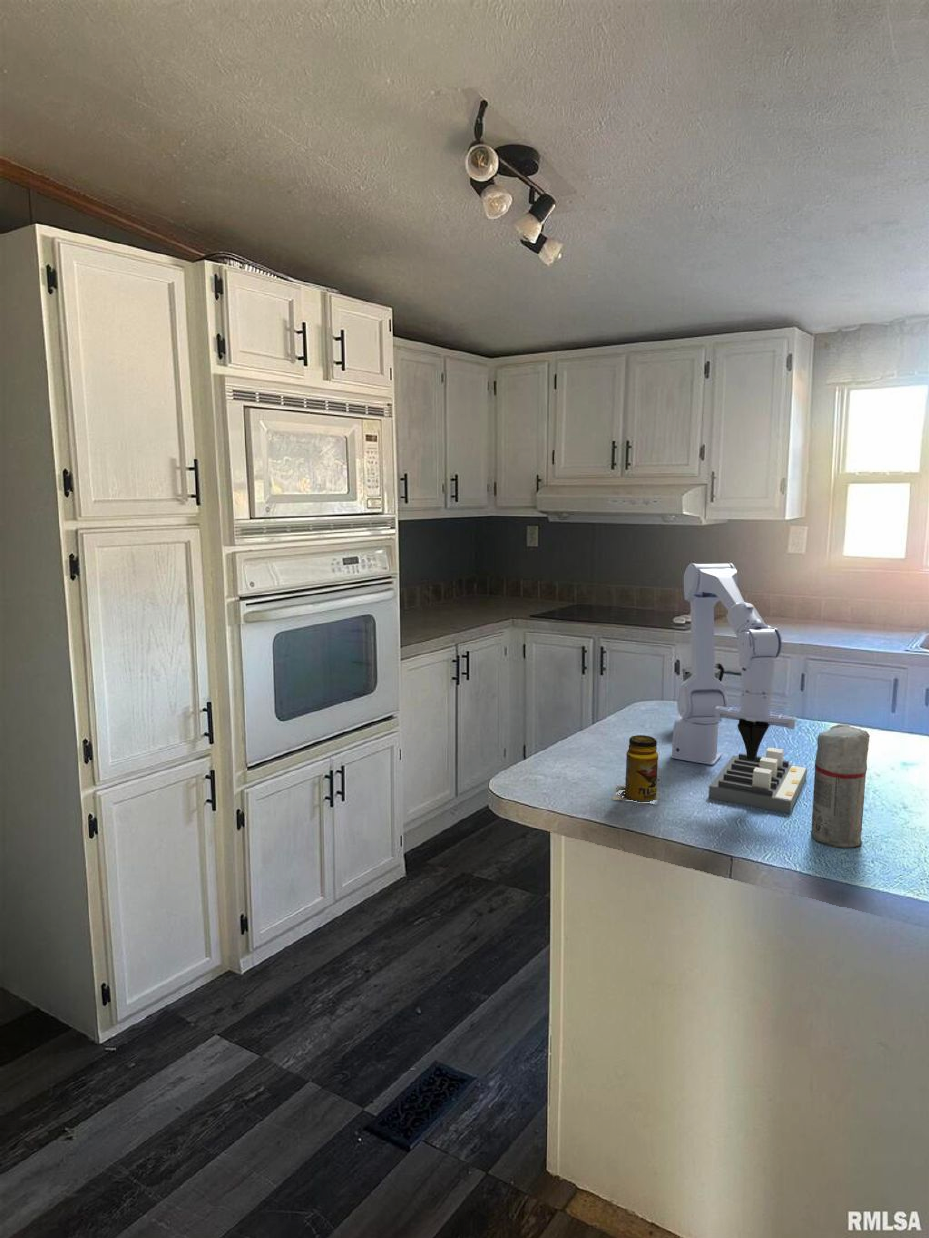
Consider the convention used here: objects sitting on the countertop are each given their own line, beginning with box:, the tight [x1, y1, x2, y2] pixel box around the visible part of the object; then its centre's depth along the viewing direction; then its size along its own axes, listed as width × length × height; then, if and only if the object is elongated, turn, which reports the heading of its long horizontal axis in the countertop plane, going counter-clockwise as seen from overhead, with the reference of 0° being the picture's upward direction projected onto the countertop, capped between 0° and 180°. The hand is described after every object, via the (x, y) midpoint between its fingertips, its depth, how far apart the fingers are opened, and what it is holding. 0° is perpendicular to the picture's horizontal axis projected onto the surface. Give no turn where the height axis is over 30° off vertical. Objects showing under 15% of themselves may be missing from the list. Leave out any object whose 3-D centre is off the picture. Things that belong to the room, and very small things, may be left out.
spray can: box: [810, 723, 870, 849], centre depth 134 cm, size 8×8×20 cm
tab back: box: [765, 746, 785, 767], centre depth 163 cm, size 3×2×4 cm
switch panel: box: [708, 753, 808, 814], centre depth 159 cm, size 15×21×3 cm
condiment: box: [612, 734, 660, 806], centre depth 154 cm, size 7×8×12 cm
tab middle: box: [759, 756, 778, 778], centre depth 157 cm, size 3×2×4 cm
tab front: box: [752, 767, 772, 789], centre depth 152 cm, size 3×2×4 cm
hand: (751, 758), depth 152 cm, fingers closed
